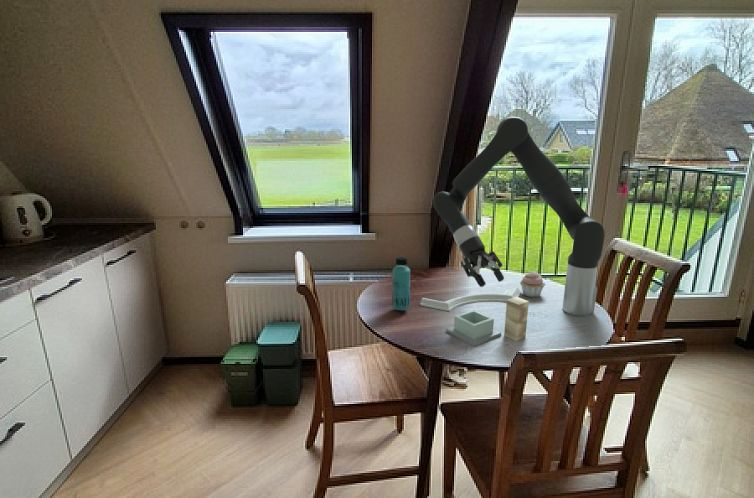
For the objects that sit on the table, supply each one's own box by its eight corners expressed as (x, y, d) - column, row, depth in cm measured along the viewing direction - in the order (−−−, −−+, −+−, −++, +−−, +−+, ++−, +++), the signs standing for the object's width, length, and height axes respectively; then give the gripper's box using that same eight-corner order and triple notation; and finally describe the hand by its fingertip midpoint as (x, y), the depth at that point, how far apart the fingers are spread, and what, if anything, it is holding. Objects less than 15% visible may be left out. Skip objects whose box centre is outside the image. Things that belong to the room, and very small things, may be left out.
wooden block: (513, 331, 131) (516, 296, 128) (525, 337, 128) (528, 301, 124) (504, 335, 129) (506, 299, 126) (515, 341, 125) (519, 304, 122)
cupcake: (534, 289, 166) (536, 265, 163) (549, 297, 157) (551, 272, 155) (513, 291, 164) (515, 267, 161) (527, 300, 155) (530, 275, 152)
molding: (515, 291, 166) (515, 284, 165) (533, 302, 155) (534, 294, 154) (416, 302, 156) (416, 295, 155) (428, 315, 145) (428, 307, 144)
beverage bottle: (398, 305, 152) (398, 253, 147) (413, 309, 149) (414, 256, 143) (388, 311, 147) (388, 258, 142) (404, 316, 143) (404, 261, 138)
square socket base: (472, 321, 138) (473, 306, 137) (501, 335, 129) (502, 319, 127) (446, 331, 132) (446, 315, 131) (473, 346, 122) (474, 329, 121)
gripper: (459, 238, 132) (484, 282, 126) (489, 232, 139) (514, 273, 133) (447, 250, 138) (470, 293, 131) (477, 244, 145) (500, 284, 139)
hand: (492, 283), depth 132 cm, fingers open, 8 cm apart
